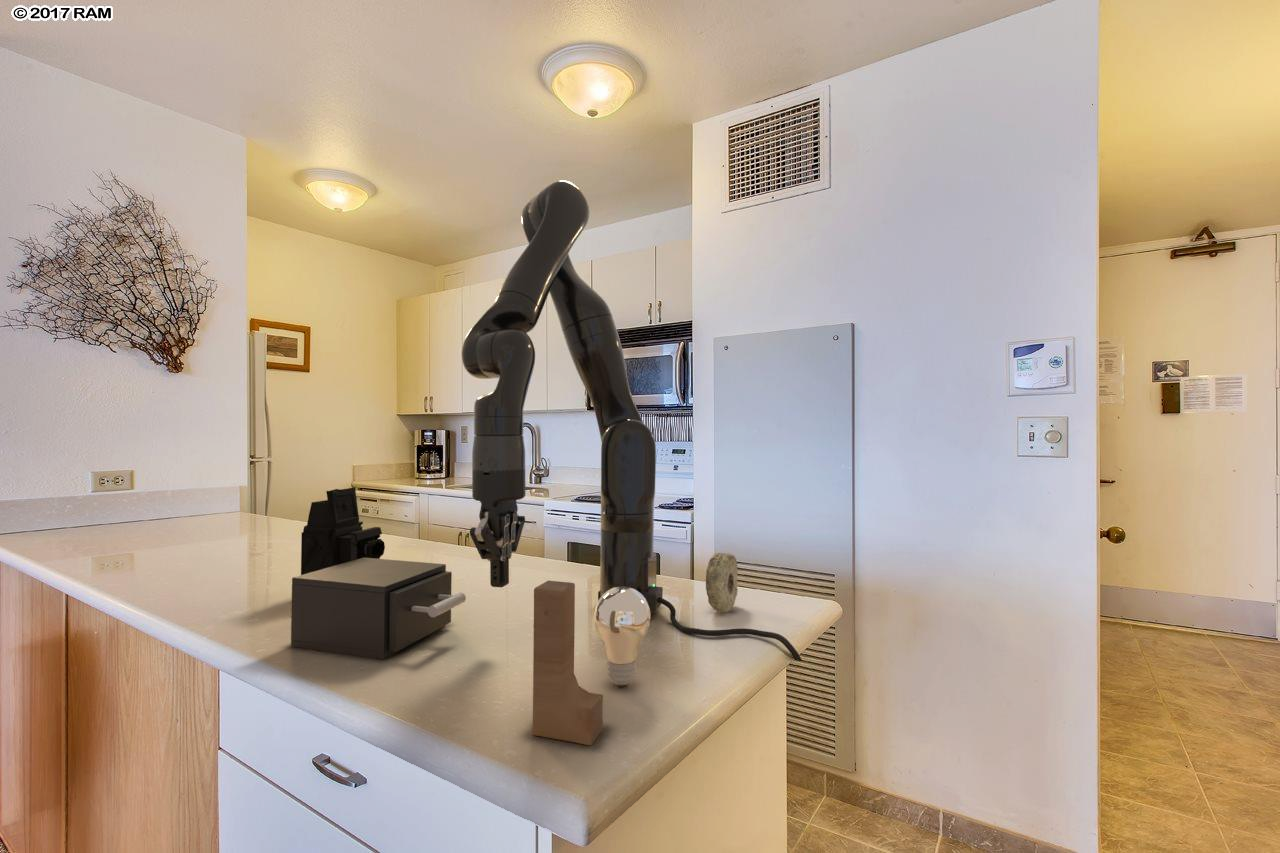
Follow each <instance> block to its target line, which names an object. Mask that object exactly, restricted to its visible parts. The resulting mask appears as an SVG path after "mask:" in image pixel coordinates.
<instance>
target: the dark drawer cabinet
mask: <svg viewBox="0 0 1280 853" xmlns="http://www.w3.org/2000/svg"><path fill="white" fill-rule="evenodd" d="M445 571H447V564H445V563H437V562H436V563H435V562H423V561H412V560H411V561H410V560H398V559H388V558H386V559H385V558H380V559H376V558H360V559H357V560H353V561H350V562H346V563H343V564H339V565H335V566H332V567H328V568H325V569H321V570H318V571H314V572H311V573H307V574H304V575H301V574H300V575H296V576H293V577H292V578H291V616H290V618H291V619H290V647H293V648H300V649H307V650H308V649H309V650H315V651H320V652H328V653H335V654H343V655H350V656H358V657H364V658H371V659H378V660H379V659H380V660H385V659H387V658H389V657H391V656H393V655H394V654H396V653H398V652H400V651H402V650H403V649H405V648H407V647H409V646H411V645H413V644H415V643H417V642H418V641H420V640H423V639H424V638H426V637H428V636H429V635H431V634H433V633H435V632H437V631H438V630H440V629H442V628H444V627H445V626H443V627H441V628H439V629H437V630H435V631H434V632H432V633H430V634H428V635H426V636H424V637H422V638H421V639H419V640H417V641H415V642H413V643H411V644H410V645H408V646H406V647H404V648H402V649H400V650H398V651H397V652H393V651H389V643H388V628H389V591H391V590H394V589H397V588H399V587H402V586H404V585H407V584H410V583H412V582H415V581H418V580H420V579H423V578H425V577H428V576H431V575H433V574H434V575H437V574H440V573H442V572H445Z"/></svg>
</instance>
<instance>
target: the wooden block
mask: <svg viewBox="0 0 1280 853" xmlns="http://www.w3.org/2000/svg"><path fill="white" fill-rule="evenodd" d="M575 604H576V584H575V583H574V582H568V581H558V580H546V581H545V582H543V583H541V584H539V585H537V586H535V587H534V589H533V651H532V652H533V655H532V656H533V658H532V659H533V660H532V661H533V663H532V664H533V665H532V678H533V679H532V684H533V685H532V731H531V732H532V736H537V737H542V738H549V739H554V740H560V741H565V742H571V743H577V744H580V745H586V746H592V745H593V744H594V743H595V741H596V740H597V739H598V737H599V736H600V734H601V733H602V732H603V729H604V723H603V722H604V695H603V694H600V693H594V692H589V691H587V690H586V689H584V688H583V687H581V686H580V685H579V682H578V680H577V678H576V675H575V623H576V622H575V619H576V618H575V616H576V614H575V612H576V608H575V606H576V605H575Z"/></svg>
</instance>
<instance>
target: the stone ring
mask: <svg viewBox="0 0 1280 853" xmlns="http://www.w3.org/2000/svg"><path fill="white" fill-rule="evenodd" d="M738 574H739V573H738V563H737V558H736V557H735V556H734V555H733V554H732V553H729V552H717V553H715V554H713V555H712V557H710V559H709V561H708V563H707V567H706V572H705V589H706V590H705V591H706V595H707V599H708V600H707V602H708V604H709V605H710V607H711V608H712V609H713V610H714V611H717V612H721V613H728V612H731V611H732V608H733V607H734V605H735V603H736V598H737V596H738V592H739V590H738Z"/></svg>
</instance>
